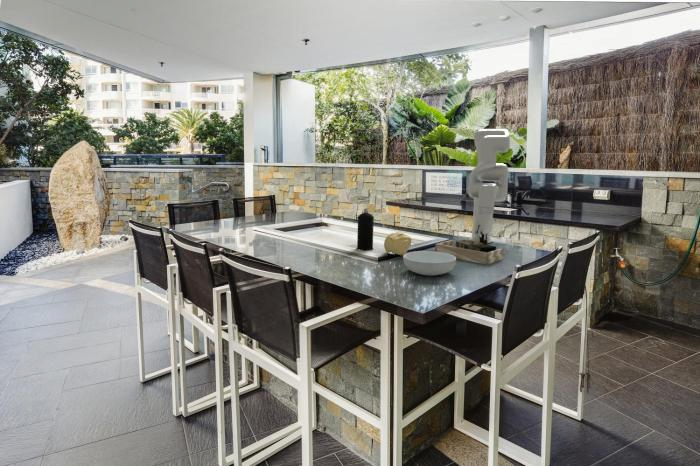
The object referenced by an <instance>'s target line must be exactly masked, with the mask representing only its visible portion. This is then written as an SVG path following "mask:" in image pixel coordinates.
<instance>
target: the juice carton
mask: <svg viewBox="0 0 700 466" xmlns="http://www.w3.org/2000/svg"><path fill="white" fill-rule="evenodd" d="M454 245H455V246H454V247H457V248H463V249H469V250H474V251H480V252H486V253H488V252H491V251H494V250H497V246H496V245H490V244H488V243H487V244H483V243H480V242H476V241H473V240H469V239H462V240H456V241H455V243H454Z"/></svg>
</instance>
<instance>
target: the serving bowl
mask: <svg viewBox="0 0 700 466" xmlns="http://www.w3.org/2000/svg"><path fill="white" fill-rule="evenodd" d="M402 259H403V263H404V266H405V267H406V268H407V269H408V270H410V271H411V272H413V273H414V274H415V273H416V274H419V275H422V276H428V277H434V276H438V275H444V274H447V273H449V272H450V271H451V270H453V268H454V267H455V265H456V262H457V259H456V257H455V256H453V255H451V254H448V253H443V252H436V251H435V250H434V251H431V250H417V251H410V252H406V253H405V254H404V255H402Z"/></svg>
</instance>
